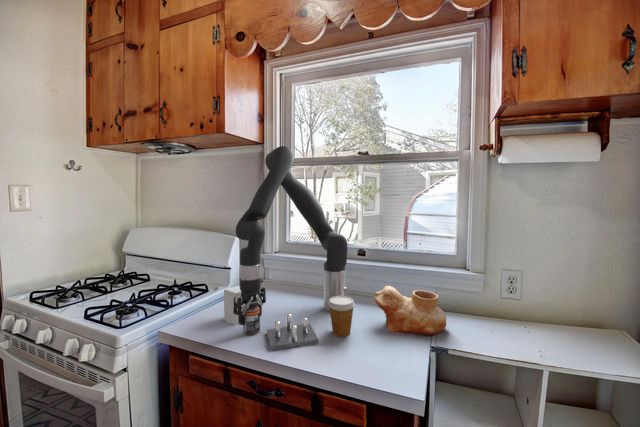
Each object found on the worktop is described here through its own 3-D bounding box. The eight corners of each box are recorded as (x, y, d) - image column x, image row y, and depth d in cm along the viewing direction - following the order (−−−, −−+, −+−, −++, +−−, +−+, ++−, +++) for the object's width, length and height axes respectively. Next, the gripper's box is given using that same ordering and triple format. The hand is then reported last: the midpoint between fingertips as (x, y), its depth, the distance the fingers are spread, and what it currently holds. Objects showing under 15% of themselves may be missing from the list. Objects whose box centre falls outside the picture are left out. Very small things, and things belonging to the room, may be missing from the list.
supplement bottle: (247, 327, 108) (246, 297, 107) (262, 328, 107) (262, 298, 106) (240, 335, 102) (239, 303, 101) (256, 336, 101) (255, 304, 100)
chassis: (309, 327, 107) (309, 310, 107) (318, 343, 96) (318, 324, 95) (266, 333, 103) (266, 315, 102) (270, 350, 91) (270, 331, 91)
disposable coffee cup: (340, 324, 110) (340, 293, 109) (360, 332, 103) (360, 300, 102) (322, 332, 103) (322, 300, 103) (342, 342, 96) (342, 307, 96)
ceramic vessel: (373, 316, 117) (373, 280, 116) (441, 321, 112) (442, 284, 111) (373, 332, 103) (373, 291, 102) (450, 339, 98) (452, 296, 97)
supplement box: (235, 325, 109) (234, 293, 108) (223, 320, 114) (223, 289, 113) (250, 318, 115) (250, 288, 114) (239, 314, 119) (238, 284, 119)
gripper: (255, 270, 111) (256, 311, 112) (227, 279, 99) (228, 325, 100) (271, 273, 107) (271, 315, 108) (243, 283, 95) (244, 330, 96)
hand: (250, 320), depth 104 cm, fingers open, 8 cm apart
